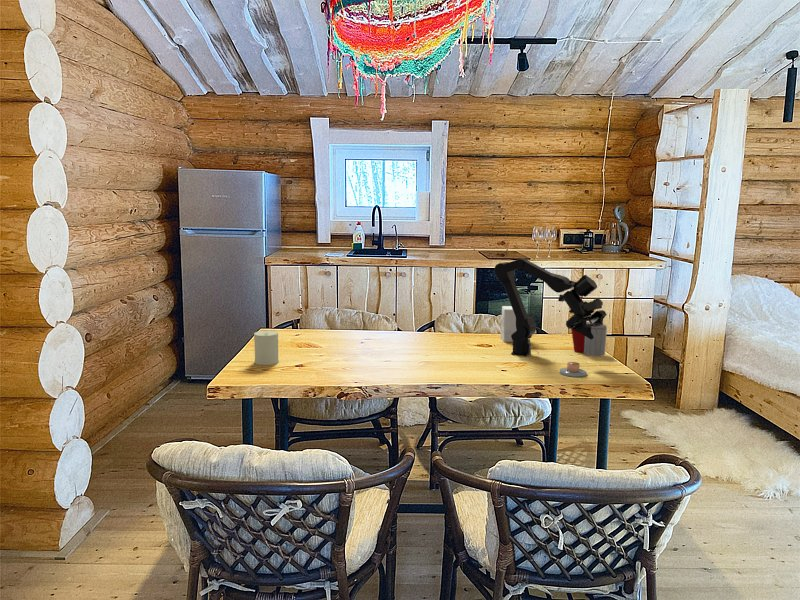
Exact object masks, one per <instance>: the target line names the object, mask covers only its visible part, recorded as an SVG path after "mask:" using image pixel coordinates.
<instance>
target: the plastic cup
mask: <svg viewBox="0 0 800 600" xmlns="http://www.w3.org/2000/svg"><path fill="white" fill-rule="evenodd" d="M589 323H590V322H589V321H586V324H589ZM570 330H571V335H572V336H571V337H572V344H573V345H572V346H573V351H574V353H580V354H585V353H584V344H585V336H584V335H583V334H581V333H579V332H577V331H575V330H573V329H572V328H570Z"/></svg>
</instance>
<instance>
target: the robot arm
mask: <svg viewBox="0 0 800 600" xmlns="http://www.w3.org/2000/svg"><path fill="white" fill-rule="evenodd" d="M518 270H522V271H524V272H525V273H528V274H530V275H531V276H533V277H535V278H537V279H539V280H541V281H542V282H544V283H545V284H546V285H547V286H548V288H550V289H551V290H552V291H554V292H555V293H558V294H559V293H562V292H564V293H563V294H559V297H558V302H565V303H566V305H567V306H568V307H569V313H570V314H573V315H572V316H570V317H569V318H568V319H567V320H566V322H565V326H566V328H567V329H569V330H571V328H572V329H573V330H575V331H577V332H579V333H581V334H583V335H584V336H586V337H588V338H589V339H593V336H592V334H591V332H590V330H589V329H588V327H587V325H586V322H590V323H597V324H603V325H604V319H605V317H607V314H608V313H606V311H605V310H603V309H602V308H603V304H604V302H603V301H602V299H601V298H595V299H593V300H592V301H589V302H588V301H586V300H585V301H584V299H582V297H587V296H589V295H590V294H592V292H594V291H595V290H596V289H597V288H598V285H597V282H596V281H595V280H594V279H593V278H591V277H589V276H588V275H587V274H583V275H582V276H581V277H580V278H579V279H578V280H577V281H573V280H571V279H569V278H568V277H566V276H565V275H561V274H558V273H553V272H550V271H549V270H547V269H545V268H543V267H541V266H539V265H537V264H535V263H534V262H532V261H529V260H528V259H527V258H526V257H521V258H517V259H515V260H512V261H510V262H507V261H506V262H505V261H504V262H499V263H497V264H496V265H495V266H494V269H493V273H494V274H495V275H494V276H496V278H497V280H498V282H500V283H501V284H502V285H503V288H504V290H505V293H506V295H507V297H508V298H507V299H508V301H509V303H510V306H512V309H513V311H514V314H515V317H516V329H517V331H516V332H514V333H513V334H512V335H511V338H512V340H513V342H512V352H511V353H510V355H515V356H522V357H527V356H529V355H531V352H532V343H531V338H532V337H533V335H534V334H536V332H537V326H538V325H537V323H536V321H535V317H534V316H530V315H528V313H527V310H526V308H525V306H524V304H523V300H522V297H521V295H520V293H519V290H518V287H517V285H516V282H515V280H516V279H515V275H516V274H515V271H518ZM570 289H571V290H570ZM565 291H566V292H565ZM600 309H601V310H600ZM595 310H596V311H595Z"/></svg>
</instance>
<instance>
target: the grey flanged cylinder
mask: <svg viewBox="0 0 800 600" xmlns="http://www.w3.org/2000/svg"><path fill="white" fill-rule="evenodd" d="M586 325H587V327H588V329H589V330H590V332H591V334H592V336H593V339H589V338H588V337H586V336H585V344H584V353H583V354H584V355H587V356H592V357H604V356H606V344H607V331H608V330H607V329H608V326H607V324H604V323H603V324H597V323H589V324H586Z"/></svg>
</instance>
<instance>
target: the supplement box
mask: <svg viewBox="0 0 800 600" xmlns="http://www.w3.org/2000/svg"><path fill="white" fill-rule="evenodd" d="M500 326H501V327H500V339H501V340H502V341H503V342H504V343H513V340H512V338H511V335H512V334H513V333H514V332H516V331H517V329H516V317H515V314H514V311H513V309H512V306H511V305H501V325H500Z"/></svg>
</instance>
